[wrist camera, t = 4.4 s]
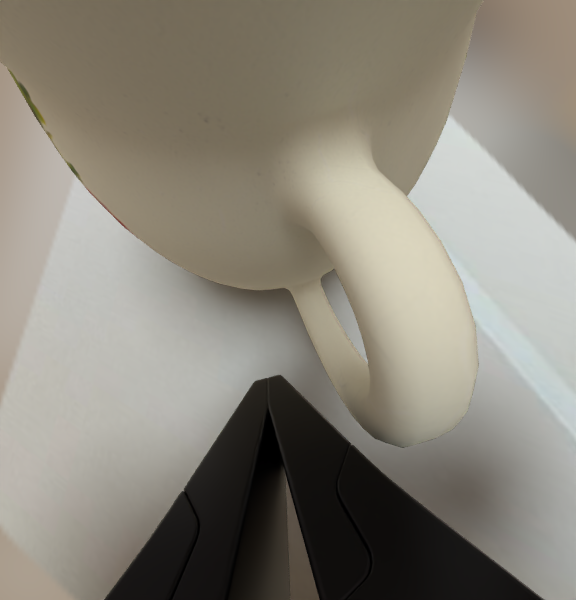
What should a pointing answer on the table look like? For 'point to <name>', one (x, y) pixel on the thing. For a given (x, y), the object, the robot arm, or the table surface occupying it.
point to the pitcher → (276, 164)
